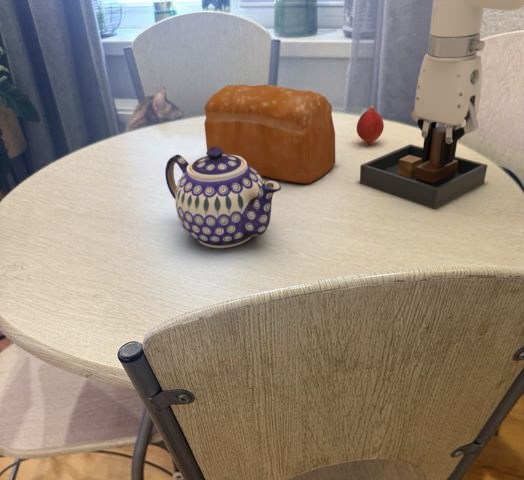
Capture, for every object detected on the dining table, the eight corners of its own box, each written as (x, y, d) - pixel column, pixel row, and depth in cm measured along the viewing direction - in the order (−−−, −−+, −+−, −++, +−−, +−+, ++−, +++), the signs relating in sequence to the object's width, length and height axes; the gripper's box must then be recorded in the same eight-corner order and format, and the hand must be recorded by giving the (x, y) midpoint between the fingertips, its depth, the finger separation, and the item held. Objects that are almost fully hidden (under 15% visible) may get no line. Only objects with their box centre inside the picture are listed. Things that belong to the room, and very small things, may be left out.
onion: (354, 148, 118) (355, 110, 113) (358, 139, 122) (359, 102, 117) (380, 148, 117) (383, 110, 112) (383, 139, 121) (386, 102, 116)
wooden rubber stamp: (437, 172, 101) (444, 122, 95) (455, 177, 99) (463, 126, 93) (414, 183, 98) (419, 132, 92) (432, 189, 96) (438, 137, 90)
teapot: (146, 232, 94) (126, 148, 85) (208, 201, 102) (195, 121, 93) (249, 275, 80) (238, 180, 71) (310, 236, 88) (308, 146, 79)
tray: (484, 183, 99) (487, 164, 97) (434, 209, 92) (437, 189, 90) (408, 161, 110) (410, 144, 108) (359, 182, 103) (360, 165, 101)
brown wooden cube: (420, 173, 102) (422, 158, 100) (410, 178, 101) (411, 162, 99) (407, 170, 104) (409, 154, 102) (397, 174, 103) (399, 159, 101)
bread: (240, 147, 124) (233, 74, 114) (340, 164, 112) (342, 82, 102) (203, 168, 116) (191, 91, 106) (307, 188, 103) (304, 103, 93)
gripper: (513, 46, 81) (490, 165, 93) (425, 37, 91) (414, 145, 103) (484, 56, 78) (464, 179, 89) (396, 45, 88) (388, 156, 100)
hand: (437, 160), depth 96 cm, fingers closed on wooden rubber stamp, 3 cm apart
